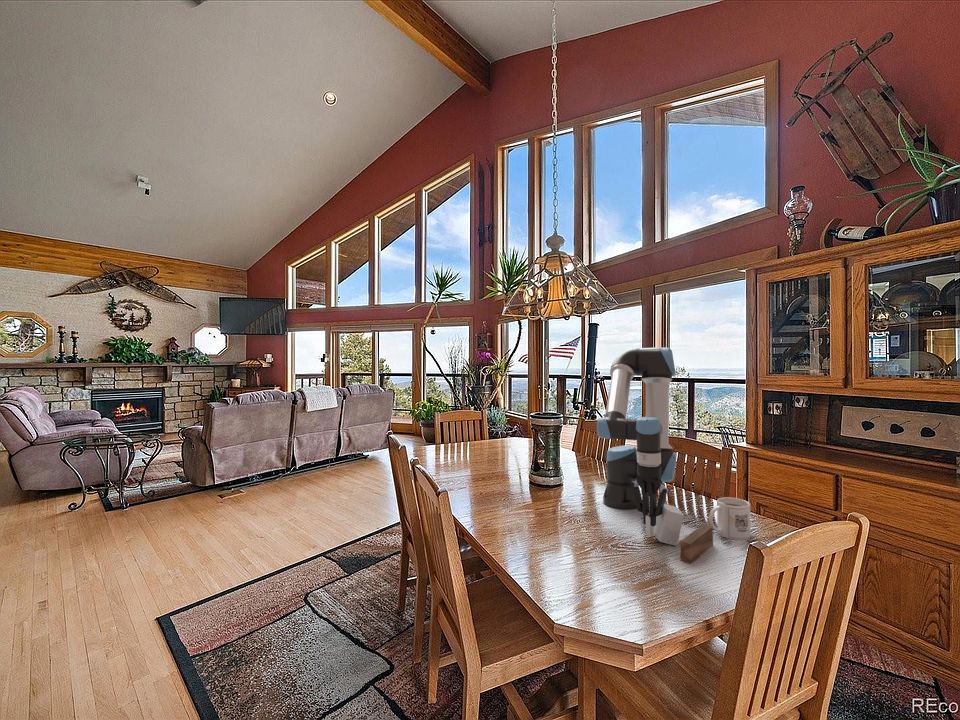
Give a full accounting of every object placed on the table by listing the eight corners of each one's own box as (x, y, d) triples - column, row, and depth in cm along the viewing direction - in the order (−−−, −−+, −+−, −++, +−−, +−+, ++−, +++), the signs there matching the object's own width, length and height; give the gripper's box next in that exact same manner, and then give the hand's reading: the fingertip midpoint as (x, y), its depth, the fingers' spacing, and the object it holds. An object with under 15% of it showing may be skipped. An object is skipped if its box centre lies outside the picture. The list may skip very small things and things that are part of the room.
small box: (676, 546, 144) (684, 515, 143) (658, 541, 144) (667, 510, 144) (669, 536, 152) (677, 506, 151) (652, 531, 152) (660, 502, 152)
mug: (750, 543, 145) (749, 509, 145) (708, 536, 151) (708, 503, 151) (750, 531, 154) (750, 499, 154) (711, 525, 160) (711, 494, 160)
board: (680, 561, 134) (680, 541, 134) (703, 542, 146) (702, 524, 146) (690, 564, 132) (690, 544, 132) (713, 545, 144) (712, 526, 144)
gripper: (625, 463, 152) (626, 532, 152) (662, 469, 142) (664, 543, 142) (636, 459, 157) (637, 526, 157) (673, 465, 147) (674, 536, 148)
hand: (649, 534), depth 150 cm, fingers closed
